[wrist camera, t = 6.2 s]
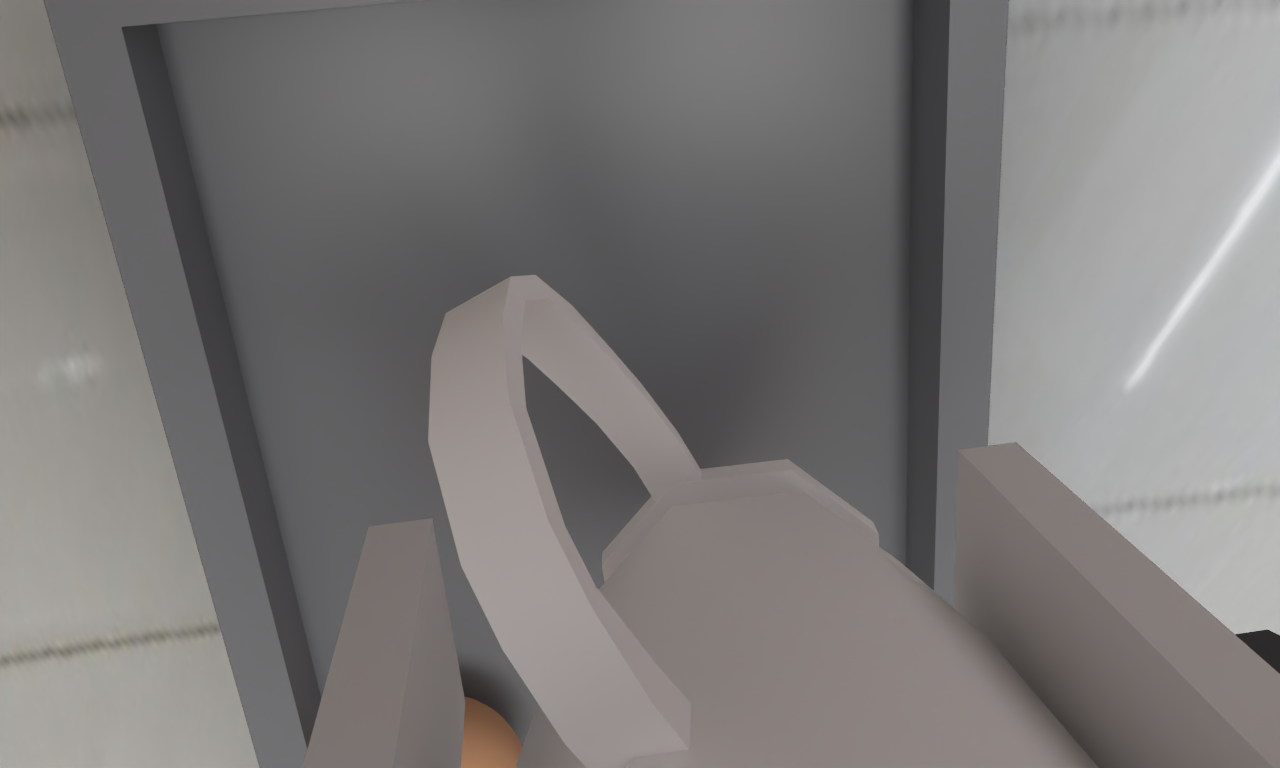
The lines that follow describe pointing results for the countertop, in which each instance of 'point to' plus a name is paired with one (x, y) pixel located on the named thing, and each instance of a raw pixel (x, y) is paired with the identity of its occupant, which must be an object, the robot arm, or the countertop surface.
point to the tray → (536, 266)
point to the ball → (487, 738)
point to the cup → (699, 587)
